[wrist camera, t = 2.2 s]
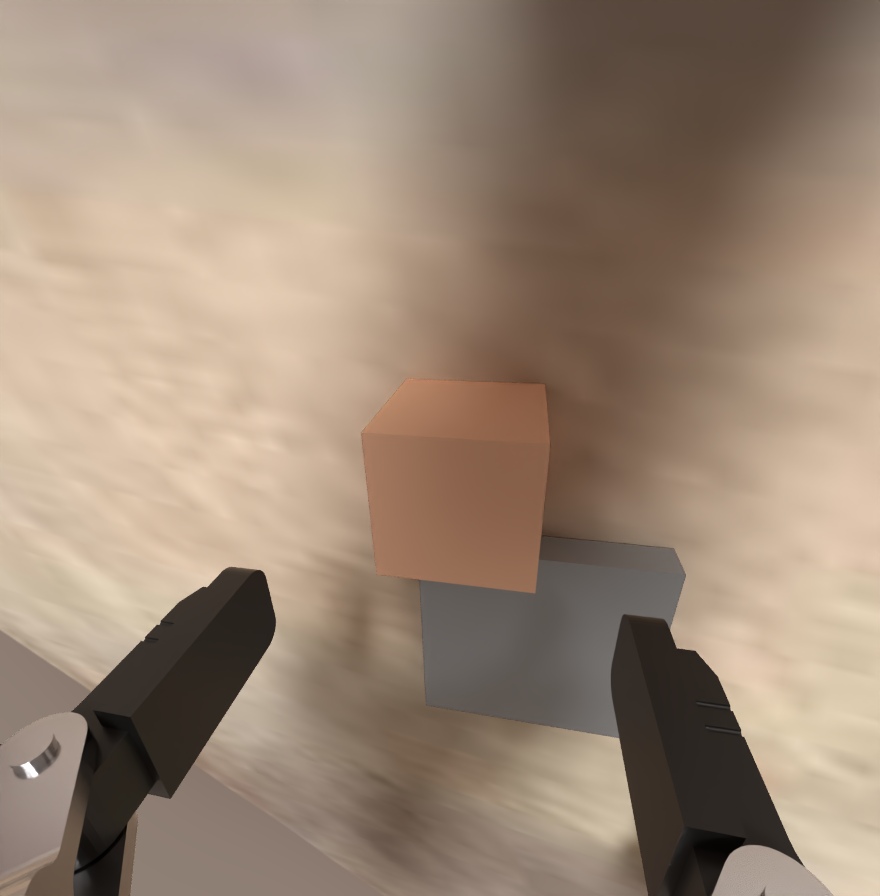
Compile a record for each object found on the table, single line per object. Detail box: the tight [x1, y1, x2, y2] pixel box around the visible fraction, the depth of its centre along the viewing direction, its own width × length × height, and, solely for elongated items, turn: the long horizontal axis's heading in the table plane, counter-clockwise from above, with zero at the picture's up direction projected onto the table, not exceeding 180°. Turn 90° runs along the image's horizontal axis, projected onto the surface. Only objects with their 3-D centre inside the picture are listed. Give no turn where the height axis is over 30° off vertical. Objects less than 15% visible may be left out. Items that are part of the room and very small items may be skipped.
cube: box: [361, 379, 550, 593], centre depth 15 cm, size 5×5×5 cm
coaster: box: [419, 536, 686, 738], centre depth 20 cm, size 10×10×2 cm
